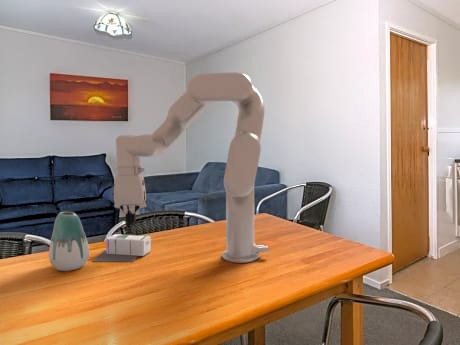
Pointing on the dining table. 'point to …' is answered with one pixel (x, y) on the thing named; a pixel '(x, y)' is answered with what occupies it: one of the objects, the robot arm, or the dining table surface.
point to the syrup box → (128, 244)
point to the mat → (114, 258)
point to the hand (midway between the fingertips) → (130, 224)
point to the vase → (68, 243)
